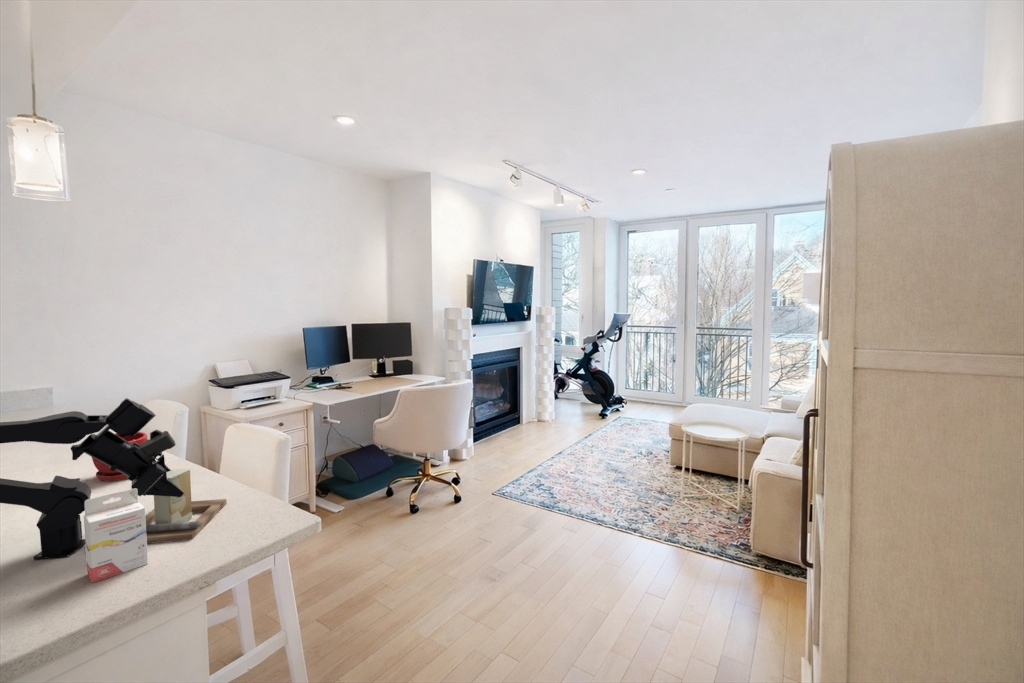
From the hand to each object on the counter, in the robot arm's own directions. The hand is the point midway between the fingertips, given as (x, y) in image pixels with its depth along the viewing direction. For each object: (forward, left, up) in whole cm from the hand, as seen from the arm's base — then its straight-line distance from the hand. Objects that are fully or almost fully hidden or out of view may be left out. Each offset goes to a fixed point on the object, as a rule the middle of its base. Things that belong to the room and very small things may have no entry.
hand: (181, 488), depth 109 cm
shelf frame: (-1, +1, -8) cm, 8 cm away
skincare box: (-1, +1, -8) cm, 8 cm away
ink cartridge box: (-20, +2, -8) cm, 21 cm away
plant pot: (+36, +33, -8) cm, 50 cm away
